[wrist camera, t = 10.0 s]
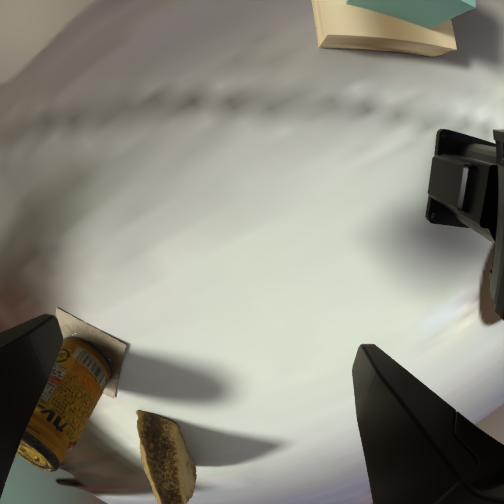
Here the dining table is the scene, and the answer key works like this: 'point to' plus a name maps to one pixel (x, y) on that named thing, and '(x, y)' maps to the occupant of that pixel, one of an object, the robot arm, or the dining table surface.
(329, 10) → the beech block
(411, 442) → the robot arm
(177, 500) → the rock
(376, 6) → the teal cube
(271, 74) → the dining table surface
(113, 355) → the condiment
